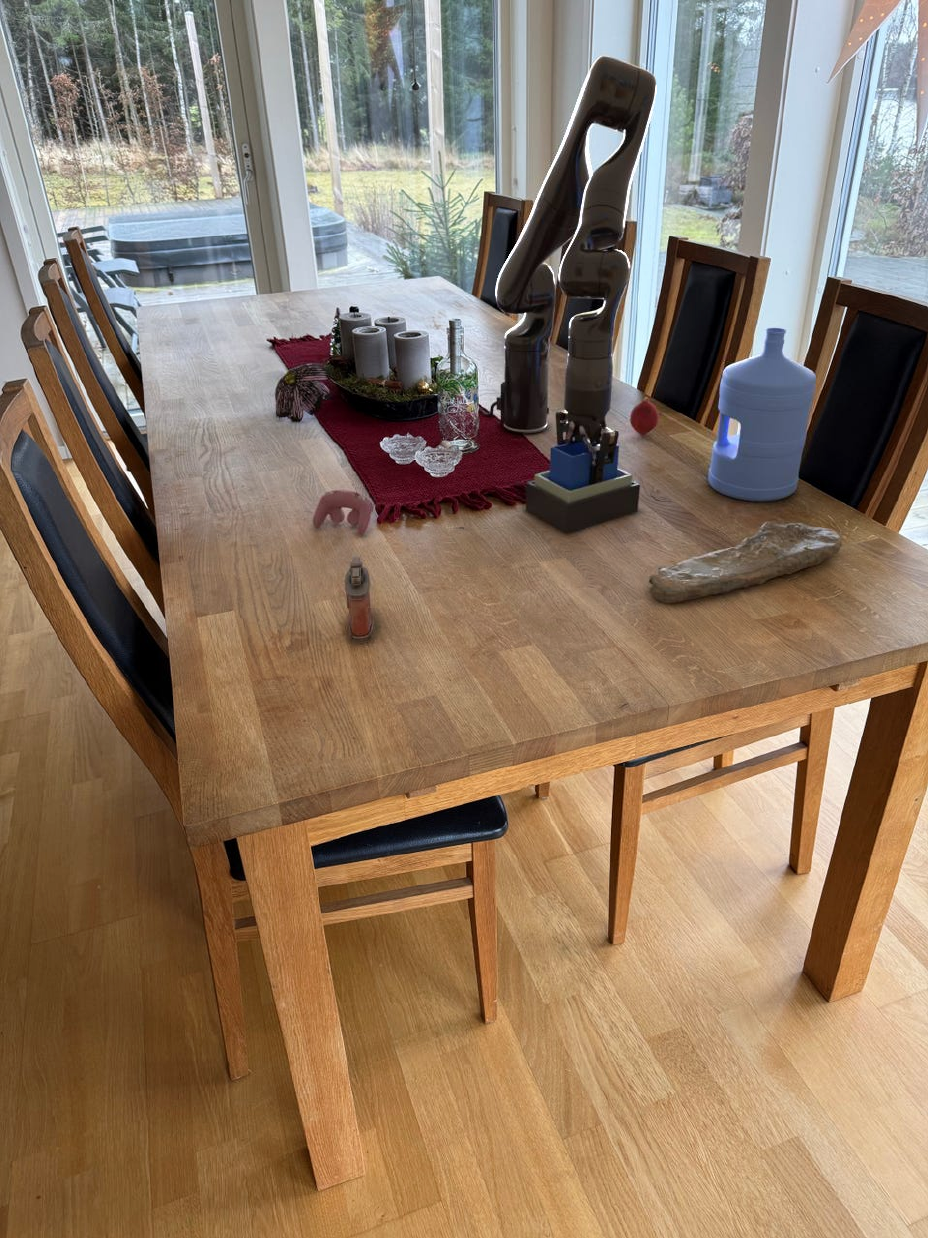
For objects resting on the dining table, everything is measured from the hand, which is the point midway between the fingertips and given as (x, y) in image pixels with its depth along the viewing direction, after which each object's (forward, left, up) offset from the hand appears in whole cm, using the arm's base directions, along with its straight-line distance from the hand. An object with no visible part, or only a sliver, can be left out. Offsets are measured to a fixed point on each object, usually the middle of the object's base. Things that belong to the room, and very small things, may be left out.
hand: (583, 478), depth 153 cm
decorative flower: (-80, +2, -6) cm, 80 cm away
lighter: (0, -51, -6) cm, 51 cm away
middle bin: (0, 0, -6) cm, 6 cm away
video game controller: (-27, -31, -6) cm, 42 cm away
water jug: (+17, +29, -6) cm, 34 cm away
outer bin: (0, 0, -6) cm, 6 cm away
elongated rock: (+32, -2, -6) cm, 33 cm away
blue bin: (0, 0, -1) cm, 1 cm away
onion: (-13, +39, -6) cm, 42 cm away
